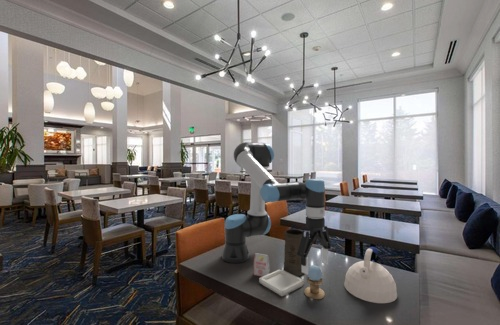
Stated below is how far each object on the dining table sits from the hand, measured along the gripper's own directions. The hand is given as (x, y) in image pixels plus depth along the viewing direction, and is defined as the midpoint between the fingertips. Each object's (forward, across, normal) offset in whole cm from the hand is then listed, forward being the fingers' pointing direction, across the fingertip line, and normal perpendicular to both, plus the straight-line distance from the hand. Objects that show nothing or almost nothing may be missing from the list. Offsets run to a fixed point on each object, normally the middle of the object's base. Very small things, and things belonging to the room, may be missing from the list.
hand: (315, 268), depth 100 cm
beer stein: (+11, +11, +20) cm, 26 cm away
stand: (+11, 0, 0) cm, 11 cm away
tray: (+11, -5, +14) cm, 19 cm away
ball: (+5, 0, 0) cm, 5 cm away
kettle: (+11, +21, -12) cm, 27 cm away
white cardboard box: (+11, -6, +26) cm, 29 cm away
